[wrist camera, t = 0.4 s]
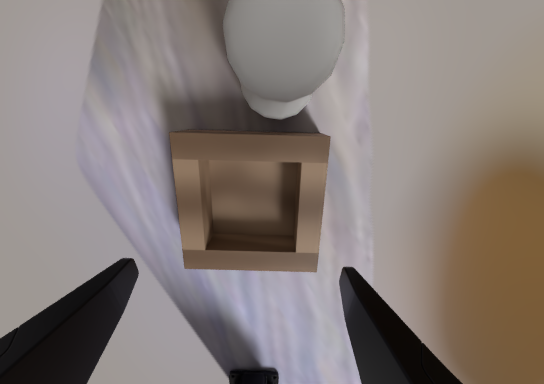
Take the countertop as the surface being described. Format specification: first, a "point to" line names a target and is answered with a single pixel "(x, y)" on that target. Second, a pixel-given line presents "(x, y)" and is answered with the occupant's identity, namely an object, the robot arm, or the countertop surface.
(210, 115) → the countertop surface
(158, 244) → the countertop surface
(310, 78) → the salt shaker
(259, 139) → the socket block
